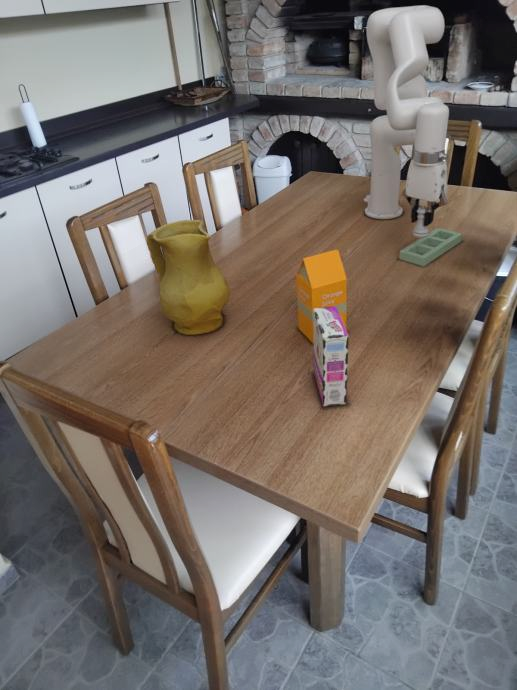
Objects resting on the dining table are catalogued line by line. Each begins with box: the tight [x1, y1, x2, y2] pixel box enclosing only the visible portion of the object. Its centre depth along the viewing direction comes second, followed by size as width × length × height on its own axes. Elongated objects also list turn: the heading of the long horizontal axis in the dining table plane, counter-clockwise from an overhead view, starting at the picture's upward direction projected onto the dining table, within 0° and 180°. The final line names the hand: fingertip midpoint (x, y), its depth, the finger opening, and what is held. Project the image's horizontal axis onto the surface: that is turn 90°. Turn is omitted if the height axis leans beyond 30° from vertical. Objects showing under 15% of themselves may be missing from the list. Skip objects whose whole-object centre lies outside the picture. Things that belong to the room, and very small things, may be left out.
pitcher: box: [146, 219, 231, 336], centre depth 130 cm, size 17×19×25 cm
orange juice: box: [295, 248, 348, 345], centre depth 123 cm, size 8×9×20 cm
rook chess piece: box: [412, 205, 430, 239], centre depth 150 cm, size 4×4×8 cm
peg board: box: [398, 227, 463, 267], centre depth 158 cm, size 8×21×2 cm, turn 135°
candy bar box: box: [313, 306, 350, 407], centre depth 106 cm, size 11×5×16 cm, turn 5°
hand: (421, 222), depth 150 cm, fingers closed on rook chess piece, 3 cm apart
